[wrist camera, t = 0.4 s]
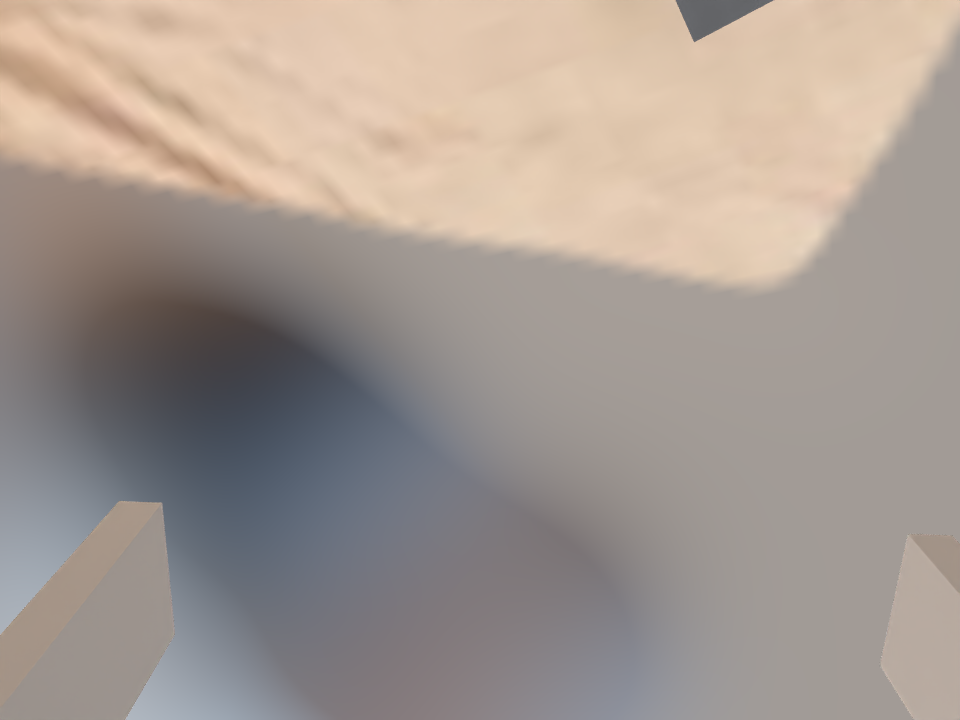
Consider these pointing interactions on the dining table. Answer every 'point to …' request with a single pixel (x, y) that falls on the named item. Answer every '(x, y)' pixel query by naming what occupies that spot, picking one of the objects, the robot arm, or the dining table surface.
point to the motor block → (714, 14)
